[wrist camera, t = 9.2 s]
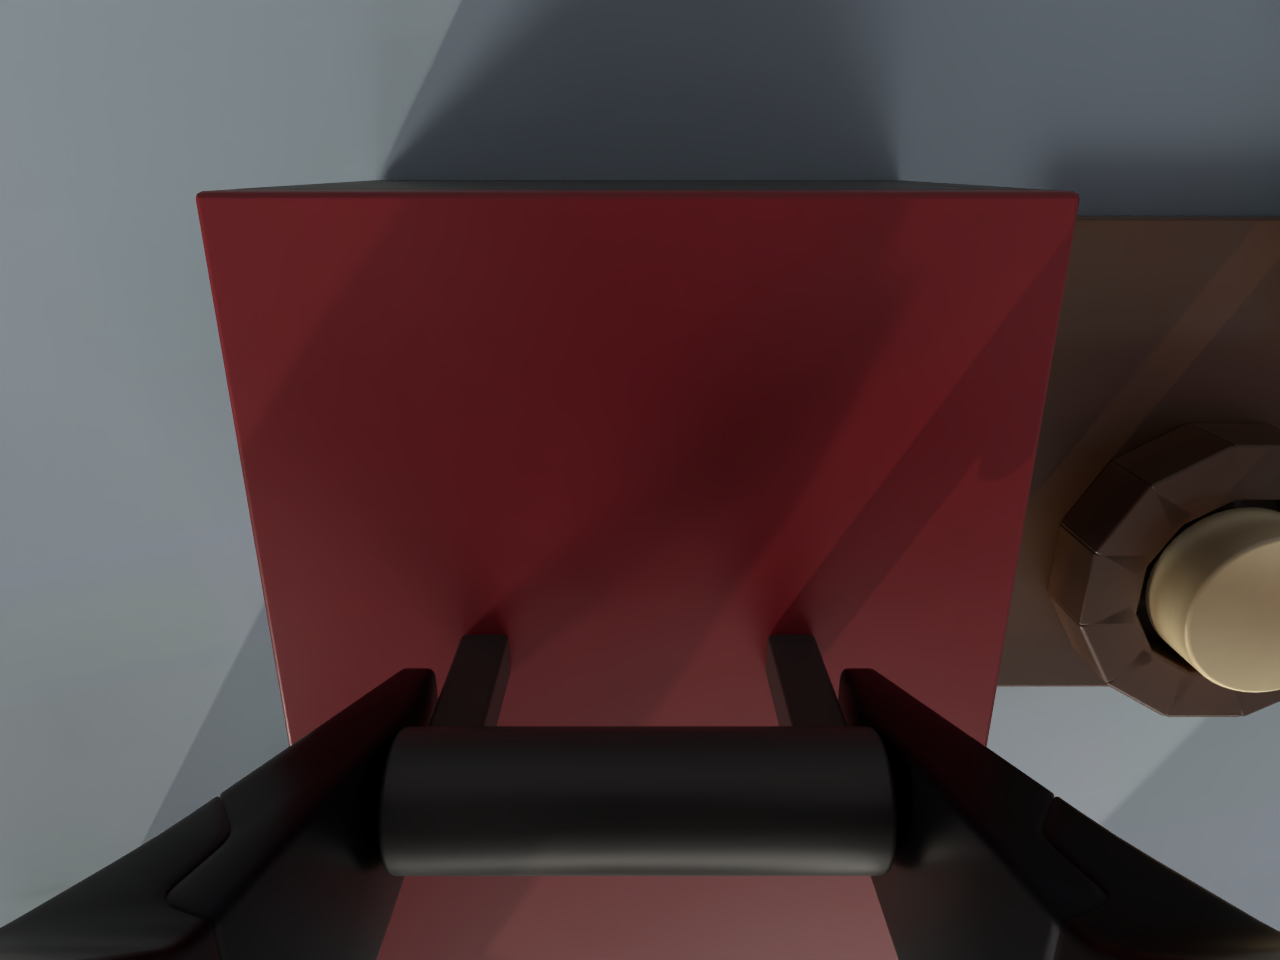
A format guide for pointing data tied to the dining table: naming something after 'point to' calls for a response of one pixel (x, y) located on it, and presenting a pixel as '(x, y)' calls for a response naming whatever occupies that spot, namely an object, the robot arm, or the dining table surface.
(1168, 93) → the dining table surface
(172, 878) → the robot arm
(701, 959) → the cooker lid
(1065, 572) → the release block
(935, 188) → the black box
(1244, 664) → the release button
